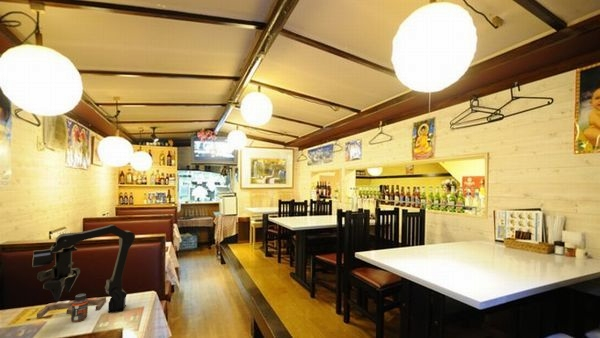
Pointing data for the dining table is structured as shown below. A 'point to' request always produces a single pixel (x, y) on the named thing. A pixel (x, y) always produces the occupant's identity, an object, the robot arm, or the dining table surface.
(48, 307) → the brown wooden rack
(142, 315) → the dining table surface
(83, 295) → the supplement bottle
